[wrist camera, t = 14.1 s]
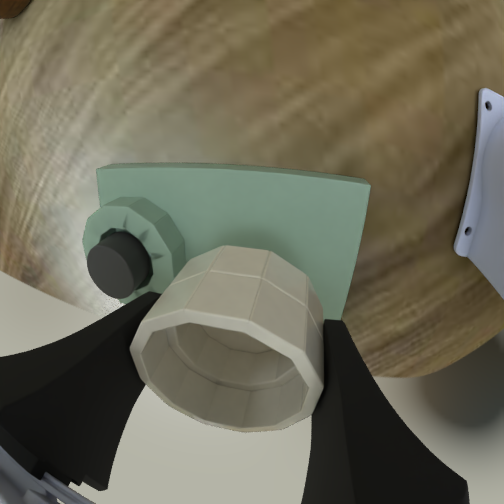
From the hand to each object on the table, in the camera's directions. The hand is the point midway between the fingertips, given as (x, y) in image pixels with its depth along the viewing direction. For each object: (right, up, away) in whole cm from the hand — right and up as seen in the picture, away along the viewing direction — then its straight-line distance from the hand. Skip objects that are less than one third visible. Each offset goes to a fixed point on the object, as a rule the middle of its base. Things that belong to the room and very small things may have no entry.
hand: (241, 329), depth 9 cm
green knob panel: (-1, +3, +6) cm, 7 cm away
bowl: (0, +1, +1) cm, 1 cm away
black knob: (-6, +2, +4) cm, 8 cm away
